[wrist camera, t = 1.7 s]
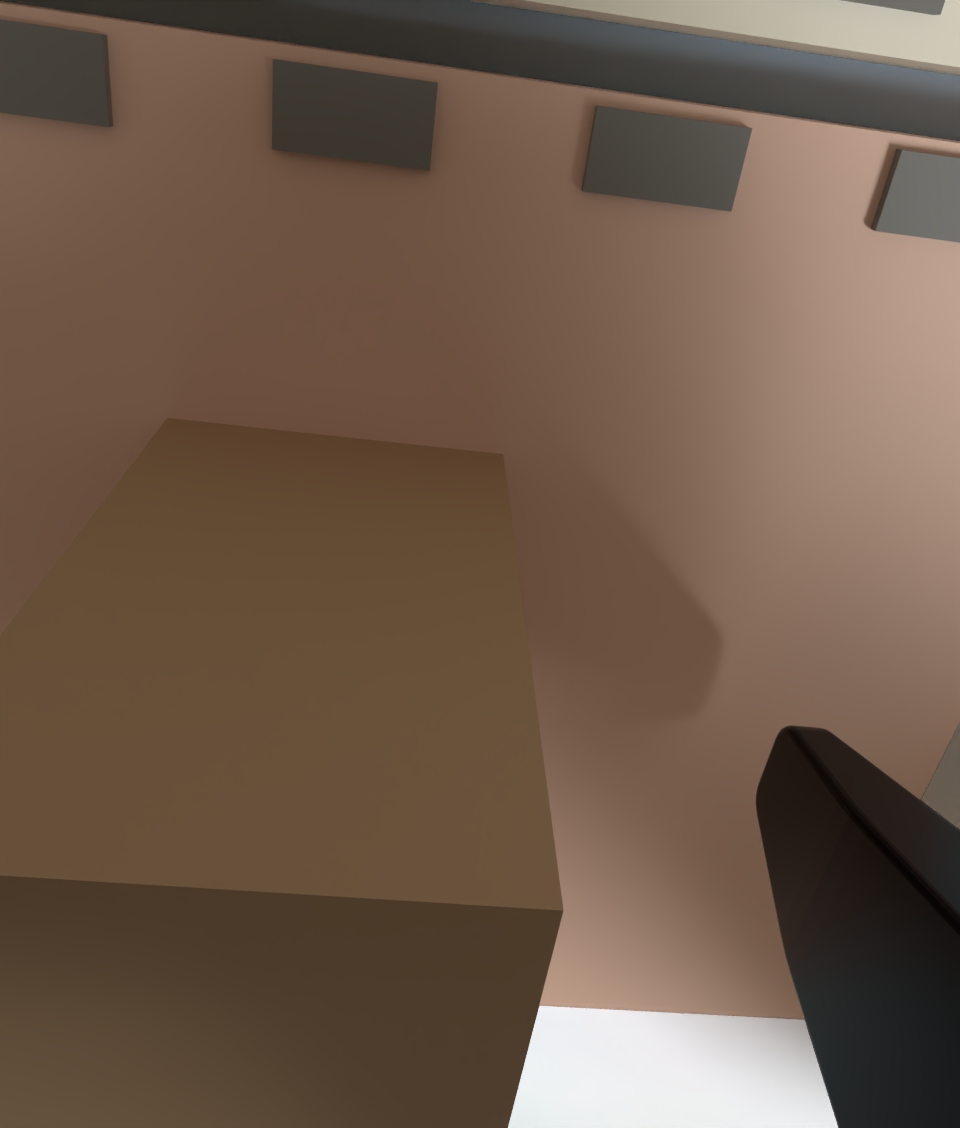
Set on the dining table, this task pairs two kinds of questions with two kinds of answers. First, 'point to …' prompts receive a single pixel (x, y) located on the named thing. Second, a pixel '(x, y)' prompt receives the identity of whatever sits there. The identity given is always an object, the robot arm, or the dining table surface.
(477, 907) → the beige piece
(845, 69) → the dining table surface
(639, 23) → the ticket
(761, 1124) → the dining table surface
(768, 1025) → the dining table surface
